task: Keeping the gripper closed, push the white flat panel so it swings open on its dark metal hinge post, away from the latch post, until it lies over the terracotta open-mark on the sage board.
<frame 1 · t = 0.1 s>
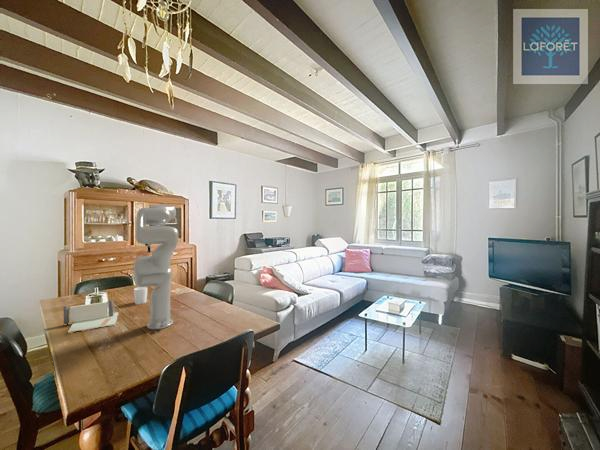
hand: (158, 252, 152), 37 cm above the table, tool pointing down, fingers open, 9 cm apart
gate frame: (95, 322, 133), on the table
white cup: (140, 303, 166), on the table
white flat panel: (89, 311, 135), point 5 cm above the table, hinge at 0.0°
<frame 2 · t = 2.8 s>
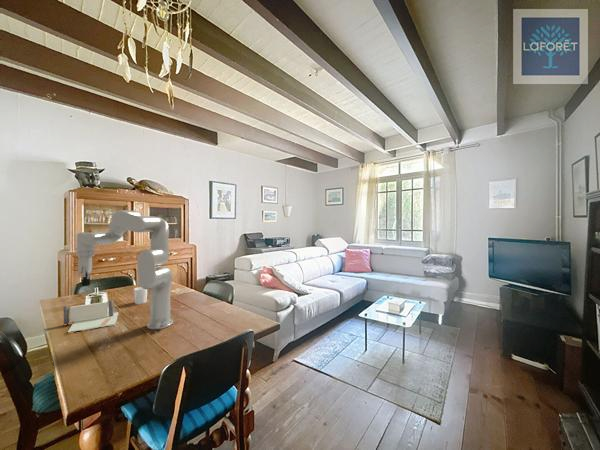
hand: (86, 285, 139), 19 cm above the table, tool pointing down, fingers closed
nothing on the table moved.
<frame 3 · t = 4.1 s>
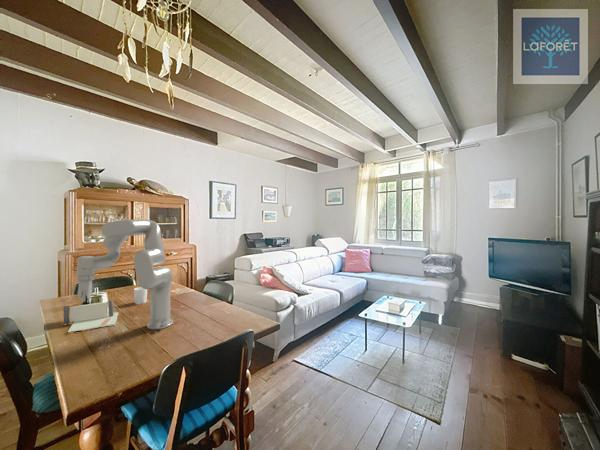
hand: (85, 309, 139), 5 cm above the table, tool pointing down, fingers closed
nothing on the table moved.
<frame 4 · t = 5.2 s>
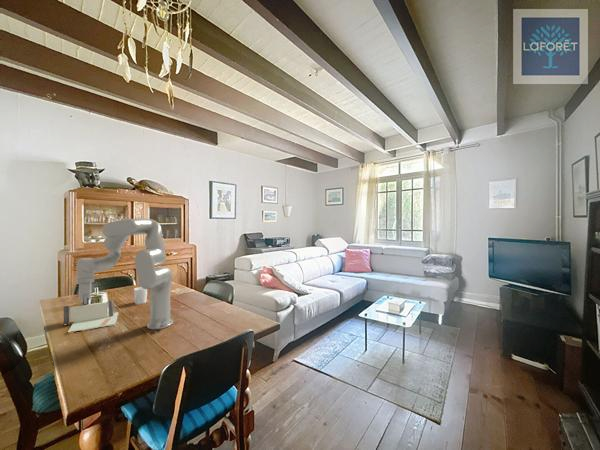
hand: (85, 311, 137), 5 cm above the table, tool pointing down, fingers closed
white flat panel: (89, 311, 135), point 5 cm above the table, hinge at 1.2°, touching gripper
everything else where it was.
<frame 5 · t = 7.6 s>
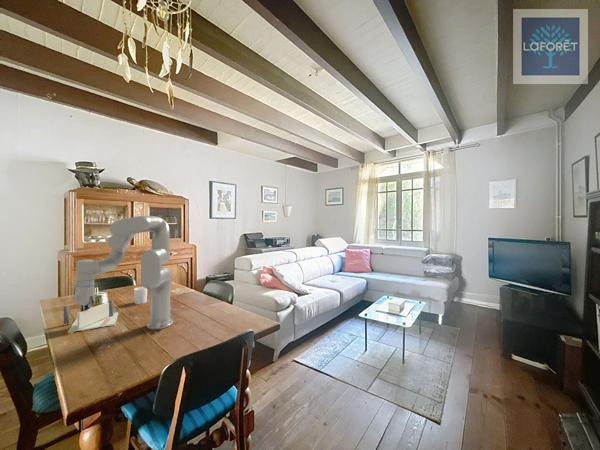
hand: (85, 316, 130), 5 cm above the table, tool pointing down, fingers closed
white flat panel: (94, 314, 131), point 5 cm above the table, hinge at 47.3°, touching gripper
everything else where it was.
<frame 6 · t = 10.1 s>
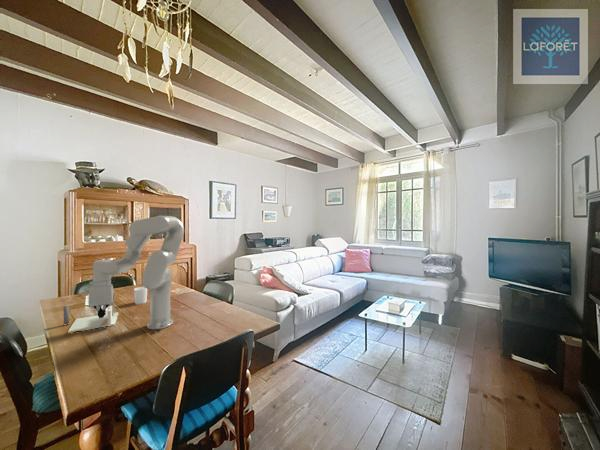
hand: (101, 316, 129), 5 cm above the table, tool pointing down, fingers closed
white flat panel: (110, 313, 133), point 6 cm above the table, hinge at 93.2°, touching gripper
everything else where it was.
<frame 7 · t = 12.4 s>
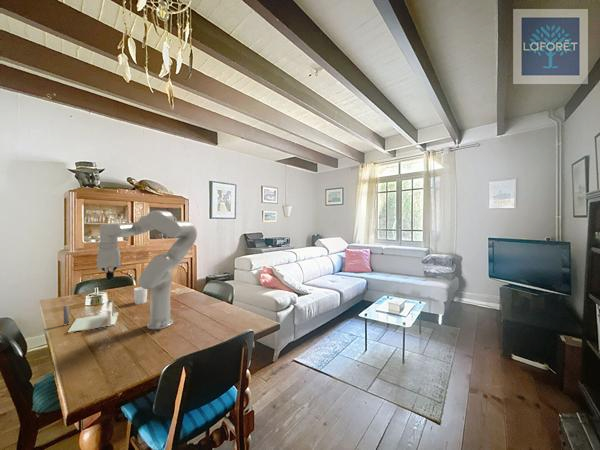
hand: (110, 279, 134), 24 cm above the table, tool pointing down, fingers closed
white flat panel: (110, 313, 133), point 5 cm above the table, hinge at 93.3°
everything else where it was.
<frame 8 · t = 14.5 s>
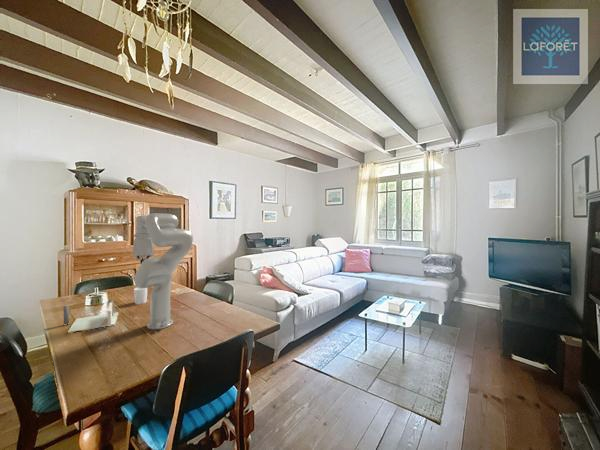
hand: (143, 266, 146), 29 cm above the table, tool pointing down, fingers closed
nothing on the table moved.
at the end: white flat panel at +93° (first picture: +0°); white cup moved 0.2 cm from its start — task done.
